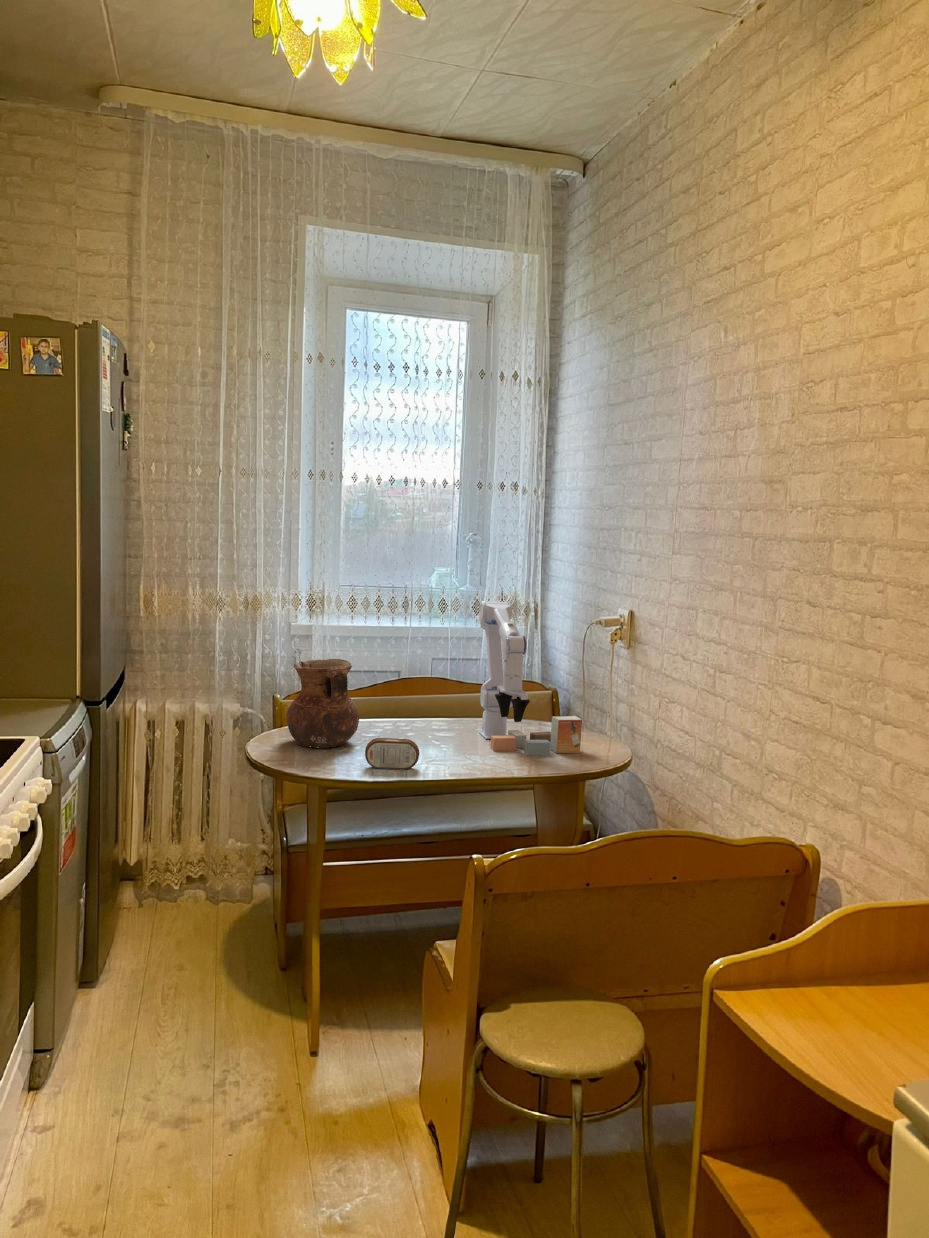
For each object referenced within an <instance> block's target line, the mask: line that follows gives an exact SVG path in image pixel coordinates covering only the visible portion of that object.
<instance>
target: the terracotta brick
mask: <svg viewBox="0 0 929 1238" xmlns="http://www.w3.org/2000/svg"><path fill="white" fill-rule="evenodd" d="M489 748H490V750H492V751H493V752H500V751H501V752H503V751H506V752H508V751H510V752H512V751H516V749H517V748H516V738H515V737H514V736H513V735H509V736H491V739H490V747H489Z"/></svg>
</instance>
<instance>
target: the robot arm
mask: <svg viewBox="0 0 929 1238" xmlns="http://www.w3.org/2000/svg"><path fill="white" fill-rule="evenodd" d="M478 611H479V613H478V614H479V625H480V628H481V629H483V630H484V631H485V632H484V633H485V638H486V652H487V653H486V654H487V671H488V680H486V681H485V682H483V684H482V685H481V687H480V695H479V696H480V697H479V701H480V702H479V703H480V706H481V707H482V708H483V709H484V710H483V711H482V712H483V713H482V720H481V721H482V722H481V723H482V724H481V725H482V726H481V730H479V731H478V733H479V734H480V735H481V736H482V737H484V739H486V740H491V736H508V733H507V727H508V723H507V722H508V717H509V713H510V709H511V707H512V709H513V721H514V723H521V722H522V720H523V716H524V713H525V710H526V708H527V707H528V705H529V703H530V699H529V693H528V692H526V691H525V690H523V675H524V673H523V670H524V655H525V654H526V652H527V645H528V644H527V643H528V642H527V638H526V636H525V635H524V634H520V631H519V629H518V627H517V625H516V624H515V623H514V622H513V621H511V619H512V616H513V605H512V603H511V602H510V601H485V600H482V601H481V603H480V605H479V610H478Z"/></svg>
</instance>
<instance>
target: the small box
mask: <svg viewBox="0 0 929 1238" xmlns="http://www.w3.org/2000/svg"><path fill="white" fill-rule="evenodd" d="M582 724H583V719H581V718H580V717H578V716H576V715H572V716H571V715H568V716H567V715H566V716H563V715H562V716H551V724H550V725H551V729H550V732H551V741H550V751H552V752H553V753H555V754H580V753H581V744H582V743H581V742H582V727H583V725H582Z"/></svg>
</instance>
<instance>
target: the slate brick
mask: <svg viewBox="0 0 929 1238" xmlns="http://www.w3.org/2000/svg"><path fill="white" fill-rule="evenodd" d="M523 749H524V751H523V753H524V754H525V755H526V756H551V749H550V742H549V741H548V740H530V739H526V740H525V748H523Z"/></svg>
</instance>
